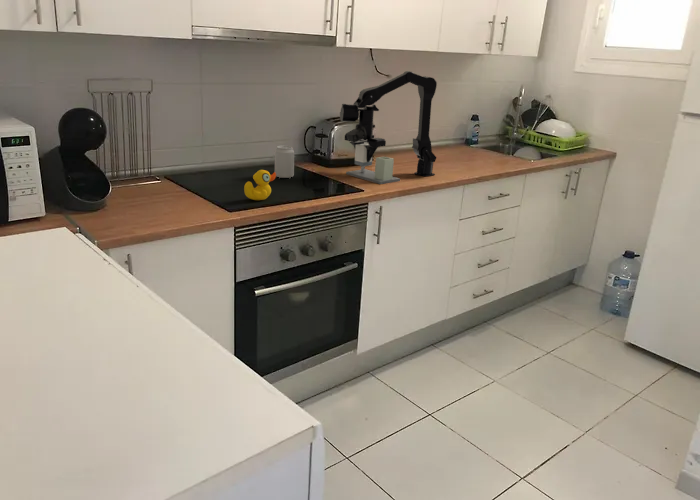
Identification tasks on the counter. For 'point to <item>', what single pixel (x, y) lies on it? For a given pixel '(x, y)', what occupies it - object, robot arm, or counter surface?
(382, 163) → the pin board
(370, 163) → the sleeve
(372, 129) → the robot arm
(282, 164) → the can
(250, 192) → the duckling
